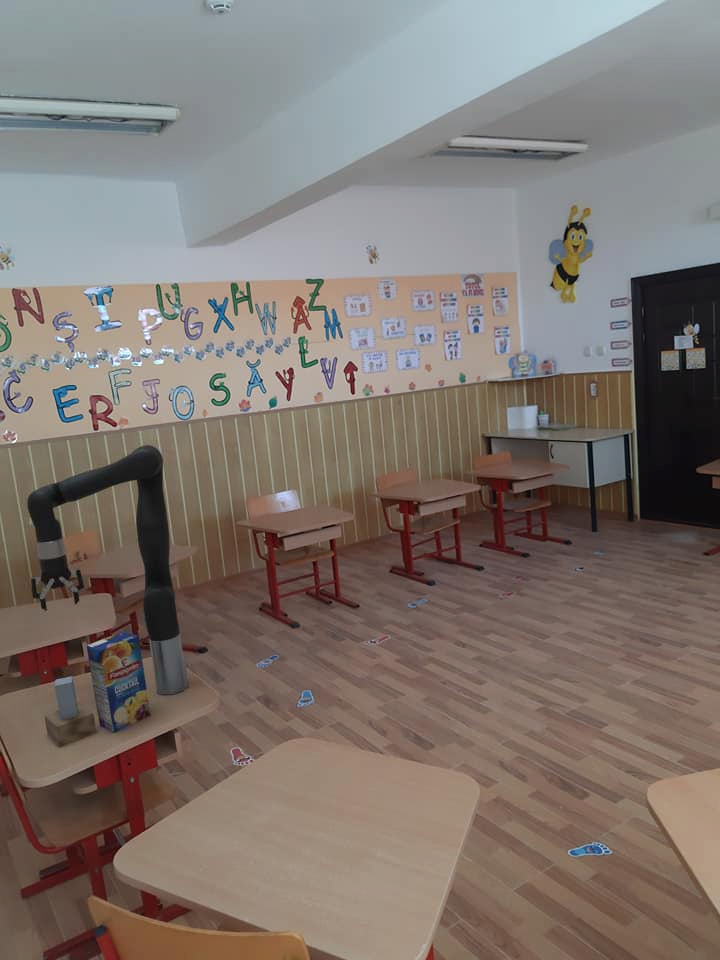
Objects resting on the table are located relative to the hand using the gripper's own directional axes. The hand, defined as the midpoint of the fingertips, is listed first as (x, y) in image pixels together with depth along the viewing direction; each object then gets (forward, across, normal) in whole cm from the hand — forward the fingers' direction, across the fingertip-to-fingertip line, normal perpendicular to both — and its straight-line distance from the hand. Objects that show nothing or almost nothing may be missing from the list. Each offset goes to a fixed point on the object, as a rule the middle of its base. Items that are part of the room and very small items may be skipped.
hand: (61, 606), depth 223 cm
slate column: (+24, -3, -22) cm, 33 cm away
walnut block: (+30, -3, -22) cm, 37 cm away
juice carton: (+30, +11, -23) cm, 40 cm away
